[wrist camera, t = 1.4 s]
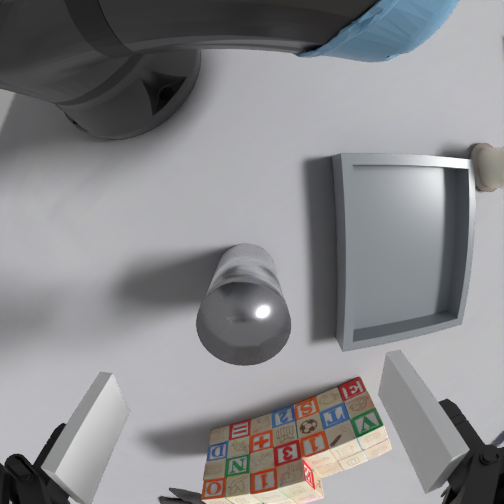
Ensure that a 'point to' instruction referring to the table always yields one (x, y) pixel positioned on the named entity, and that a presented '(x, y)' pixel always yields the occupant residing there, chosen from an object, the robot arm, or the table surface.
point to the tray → (401, 245)
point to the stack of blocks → (293, 449)
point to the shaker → (244, 308)
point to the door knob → (488, 166)
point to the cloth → (182, 497)
